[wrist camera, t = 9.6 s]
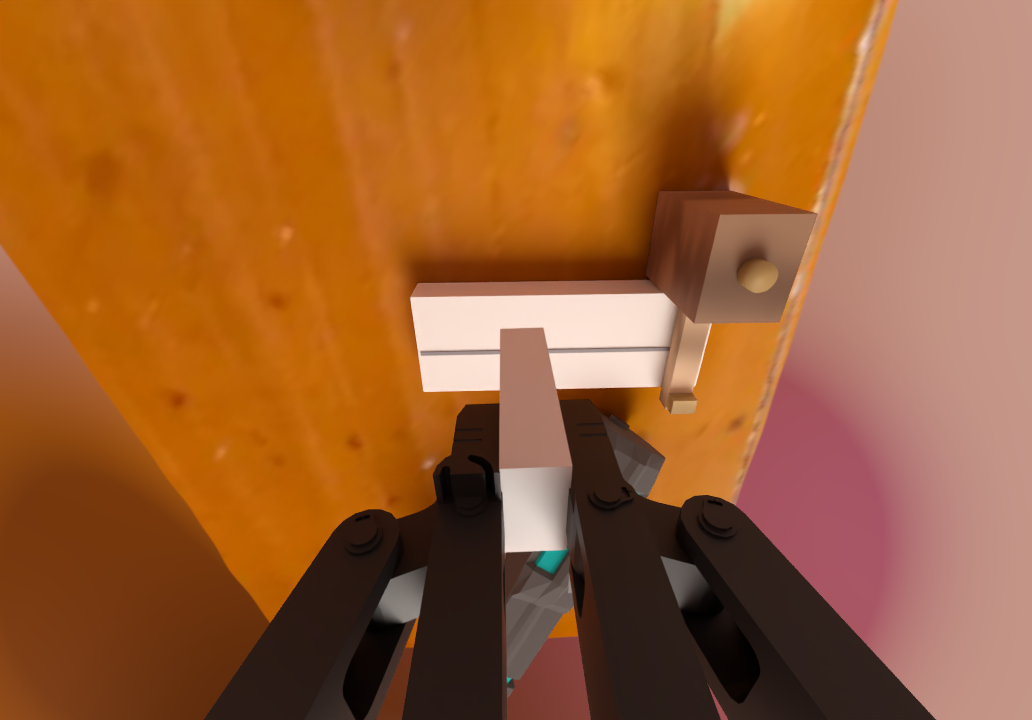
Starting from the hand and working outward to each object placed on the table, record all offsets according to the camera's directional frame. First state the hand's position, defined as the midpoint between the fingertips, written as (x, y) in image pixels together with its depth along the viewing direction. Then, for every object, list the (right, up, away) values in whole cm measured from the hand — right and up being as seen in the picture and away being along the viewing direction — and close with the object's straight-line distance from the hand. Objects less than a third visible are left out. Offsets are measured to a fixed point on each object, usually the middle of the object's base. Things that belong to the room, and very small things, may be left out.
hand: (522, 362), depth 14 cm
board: (+3, +3, +19) cm, 19 cm away
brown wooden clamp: (+12, +5, +17) cm, 22 cm away
